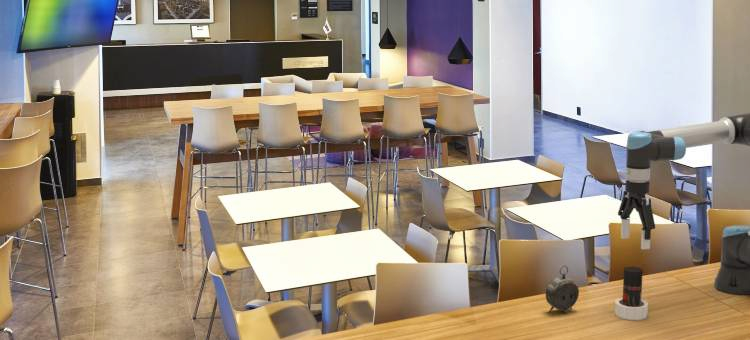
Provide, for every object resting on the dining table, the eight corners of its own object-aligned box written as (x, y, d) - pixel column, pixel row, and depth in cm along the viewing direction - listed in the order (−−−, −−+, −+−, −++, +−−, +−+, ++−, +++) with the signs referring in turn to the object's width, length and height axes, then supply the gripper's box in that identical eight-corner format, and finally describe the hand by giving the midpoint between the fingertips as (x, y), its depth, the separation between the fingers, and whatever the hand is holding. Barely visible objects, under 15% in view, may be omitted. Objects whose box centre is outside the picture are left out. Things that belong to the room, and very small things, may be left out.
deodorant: (641, 316, 290) (643, 272, 287) (622, 314, 291) (624, 271, 288) (639, 310, 296) (641, 267, 293) (621, 308, 297) (623, 266, 294)
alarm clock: (571, 307, 302) (572, 261, 299) (580, 312, 297) (582, 266, 294) (544, 311, 298) (545, 265, 295) (553, 316, 293) (554, 270, 290)
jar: (637, 308, 300) (638, 296, 299) (653, 318, 290) (653, 306, 289) (609, 310, 298) (610, 299, 297) (624, 321, 288) (624, 309, 287)
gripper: (609, 173, 297) (606, 234, 301) (646, 188, 273) (643, 254, 277) (629, 172, 298) (627, 233, 302) (668, 187, 274) (665, 252, 278)
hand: (635, 243), depth 289 cm, fingers open, 13 cm apart
